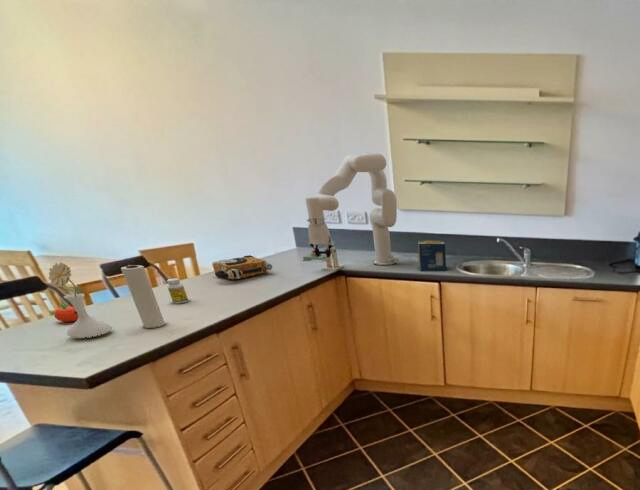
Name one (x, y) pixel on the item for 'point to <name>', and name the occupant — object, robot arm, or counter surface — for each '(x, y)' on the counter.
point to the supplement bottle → (177, 291)
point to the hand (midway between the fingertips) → (323, 256)
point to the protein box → (432, 255)
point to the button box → (313, 257)
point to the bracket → (335, 260)
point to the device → (240, 267)
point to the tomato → (66, 314)
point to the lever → (323, 252)
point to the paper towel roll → (143, 296)
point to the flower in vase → (77, 305)
